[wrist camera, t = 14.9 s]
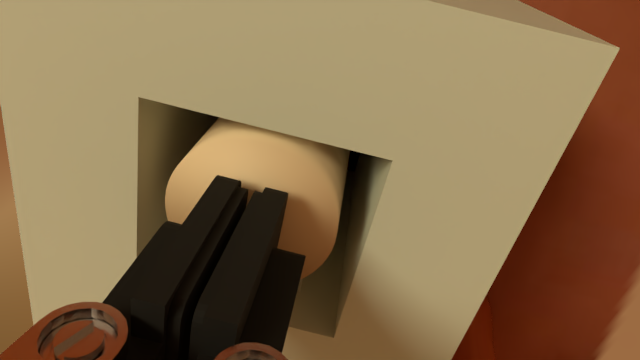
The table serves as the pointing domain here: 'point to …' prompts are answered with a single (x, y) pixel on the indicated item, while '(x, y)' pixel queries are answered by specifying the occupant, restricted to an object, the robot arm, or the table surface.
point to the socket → (305, 122)
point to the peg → (269, 181)
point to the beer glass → (478, 337)
